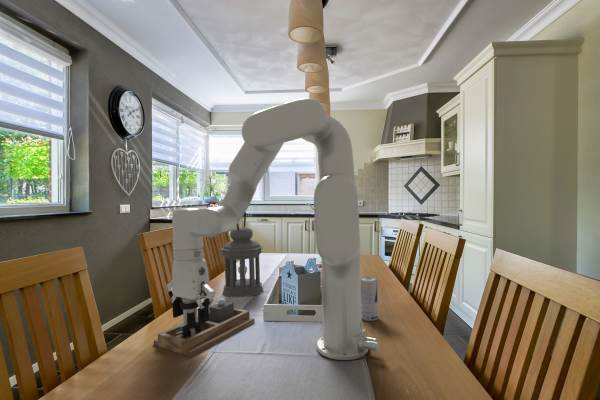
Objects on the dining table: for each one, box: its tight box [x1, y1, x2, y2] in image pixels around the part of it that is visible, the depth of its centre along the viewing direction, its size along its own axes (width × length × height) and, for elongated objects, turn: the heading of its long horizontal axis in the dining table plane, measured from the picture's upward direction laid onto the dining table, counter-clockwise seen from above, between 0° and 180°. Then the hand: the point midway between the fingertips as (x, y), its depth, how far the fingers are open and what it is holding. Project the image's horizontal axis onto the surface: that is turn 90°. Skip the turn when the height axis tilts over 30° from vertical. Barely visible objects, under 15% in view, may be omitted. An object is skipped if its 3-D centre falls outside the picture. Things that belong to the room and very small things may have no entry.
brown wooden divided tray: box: [153, 307, 255, 358], centre depth 94 cm, size 14×24×3 cm, turn 149°
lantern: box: [220, 211, 264, 298], centre depth 133 cm, size 17×17×35 cm
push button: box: [176, 298, 201, 338], centre depth 89 cm, size 7×5×10 cm
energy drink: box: [361, 276, 379, 322], centre depth 101 cm, size 5×5×12 cm
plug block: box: [209, 298, 235, 323], centre depth 98 cm, size 4×6×7 cm, turn 149°
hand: (190, 319), depth 89 cm, fingers open, 9 cm apart
